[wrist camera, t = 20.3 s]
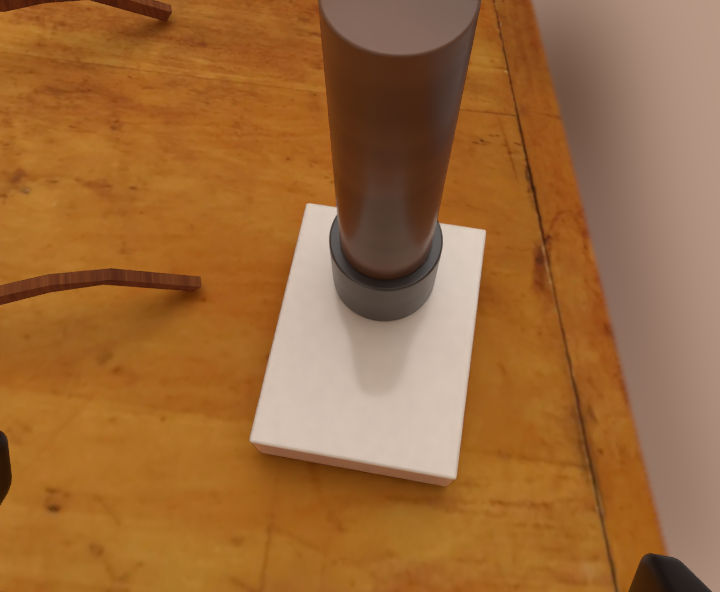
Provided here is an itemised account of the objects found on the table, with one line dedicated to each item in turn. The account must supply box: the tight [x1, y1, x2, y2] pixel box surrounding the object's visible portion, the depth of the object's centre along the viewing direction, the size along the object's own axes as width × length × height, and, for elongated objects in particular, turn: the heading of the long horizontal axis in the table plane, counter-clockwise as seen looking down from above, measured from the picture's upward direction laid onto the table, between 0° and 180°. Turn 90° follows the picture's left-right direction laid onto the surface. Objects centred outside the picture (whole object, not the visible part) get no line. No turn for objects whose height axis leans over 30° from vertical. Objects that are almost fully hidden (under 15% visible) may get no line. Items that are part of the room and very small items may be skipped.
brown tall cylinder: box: [318, 0, 481, 321], centre depth 15 cm, size 3×3×11 cm
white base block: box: [249, 203, 486, 487], centre depth 21 cm, size 8×6×2 cm
